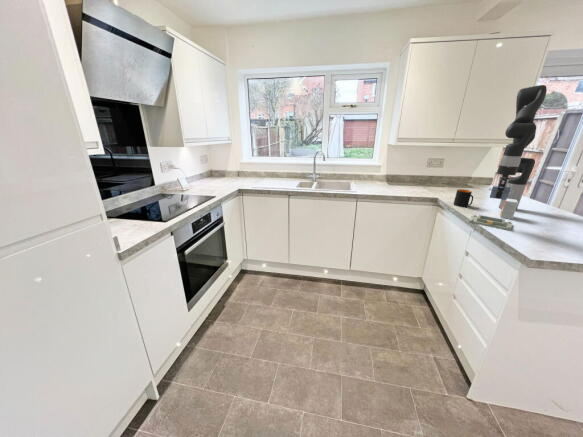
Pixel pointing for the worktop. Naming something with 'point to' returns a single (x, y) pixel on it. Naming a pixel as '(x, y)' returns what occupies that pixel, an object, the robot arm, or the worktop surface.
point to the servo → (504, 194)
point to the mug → (463, 198)
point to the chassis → (491, 222)
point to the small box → (508, 208)
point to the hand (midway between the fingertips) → (498, 197)
